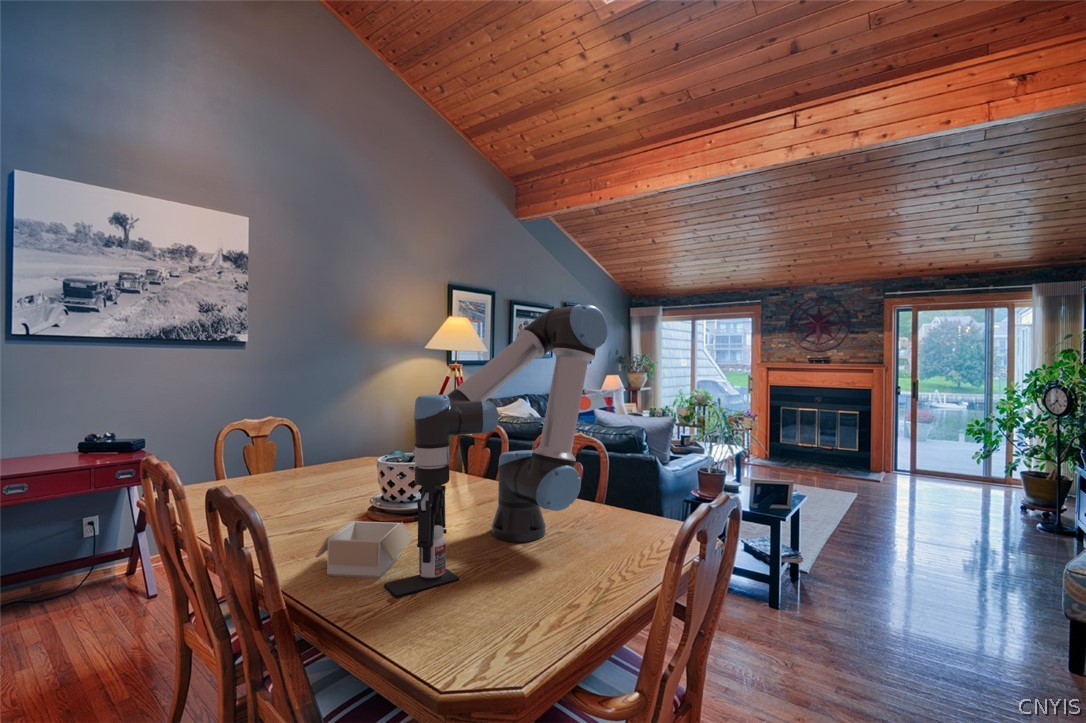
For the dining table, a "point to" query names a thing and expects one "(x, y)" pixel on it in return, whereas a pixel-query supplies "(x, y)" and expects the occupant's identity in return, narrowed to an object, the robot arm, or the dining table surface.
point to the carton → (360, 550)
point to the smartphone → (418, 584)
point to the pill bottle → (437, 552)
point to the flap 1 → (325, 544)
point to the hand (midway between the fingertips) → (432, 569)
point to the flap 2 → (396, 541)
